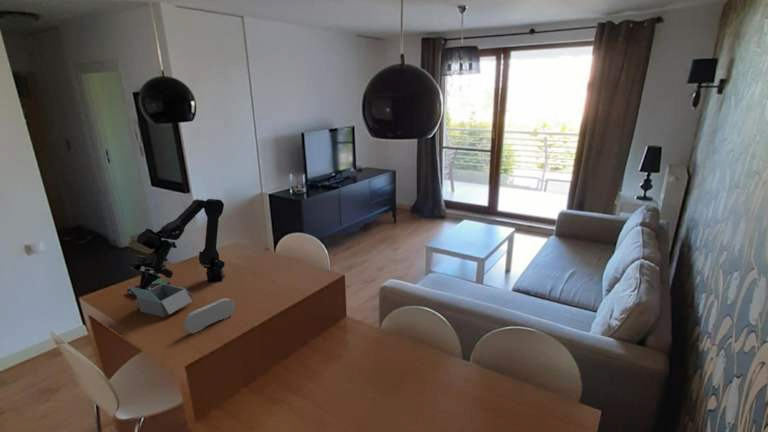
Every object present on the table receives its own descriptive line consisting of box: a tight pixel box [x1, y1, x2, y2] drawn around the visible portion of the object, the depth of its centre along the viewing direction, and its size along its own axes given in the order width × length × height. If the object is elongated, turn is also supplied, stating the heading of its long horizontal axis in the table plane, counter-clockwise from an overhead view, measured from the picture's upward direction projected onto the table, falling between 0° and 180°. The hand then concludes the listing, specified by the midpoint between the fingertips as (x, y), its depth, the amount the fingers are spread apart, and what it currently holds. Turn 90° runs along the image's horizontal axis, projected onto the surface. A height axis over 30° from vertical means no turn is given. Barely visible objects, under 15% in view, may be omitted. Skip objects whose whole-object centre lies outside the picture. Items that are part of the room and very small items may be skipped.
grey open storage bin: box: [135, 284, 194, 319], centre depth 165 cm, size 15×20×7 cm
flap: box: [128, 285, 159, 301], centre depth 156 cm, size 6×13×1 cm
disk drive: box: [126, 277, 171, 300], centre depth 181 cm, size 10×3×15 cm
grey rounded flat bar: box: [183, 297, 236, 334], centre depth 149 cm, size 20×2×8 cm, turn 141°
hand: (140, 290), depth 154 cm, fingers closed, pressing on flap
